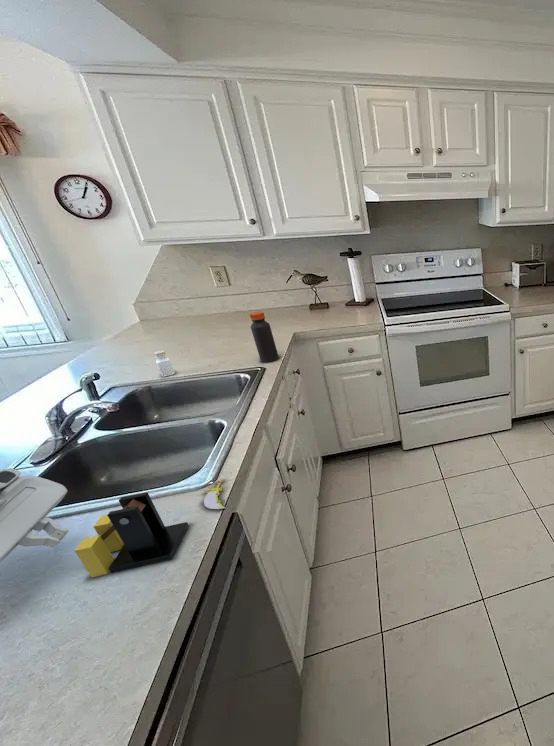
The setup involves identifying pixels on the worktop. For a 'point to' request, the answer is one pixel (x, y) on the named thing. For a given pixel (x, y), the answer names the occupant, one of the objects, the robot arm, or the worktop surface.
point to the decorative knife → (213, 497)
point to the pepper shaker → (164, 363)
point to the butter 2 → (95, 556)
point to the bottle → (263, 337)
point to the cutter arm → (129, 505)
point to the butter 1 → (113, 539)
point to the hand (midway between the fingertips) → (62, 539)
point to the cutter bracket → (143, 534)
